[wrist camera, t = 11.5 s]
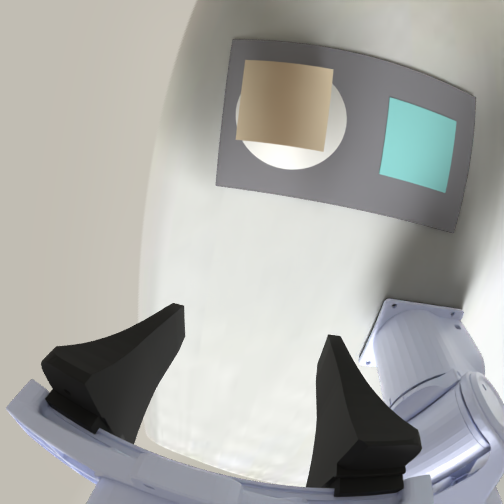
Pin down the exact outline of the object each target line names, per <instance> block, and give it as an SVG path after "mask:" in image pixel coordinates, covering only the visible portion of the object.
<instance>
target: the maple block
mask: <svg viewBox="0 0 504 504" xmlns="http://www.w3.org/2000/svg"><path fill="white" fill-rule="evenodd" d="M332 80H333V69H328V68H322V67H316V66H309V65H302V64H294V63H285V62H274V61H259V60H245V66H244V74H243V82H242V90H241V98H240V106H239V115H238V123H237V132H236V140H243V141H253V142H262V143H270V144H277V145H285V146H291V147H298V148H304V149H310V150H316V151H321V152H324V145H325V138H326V131H327V123H328V115H329V107H330V99H331V89H332Z"/></svg>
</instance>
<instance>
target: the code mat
mask: <svg viewBox="0 0 504 504" xmlns="http://www.w3.org/2000/svg"><path fill="white" fill-rule="evenodd" d="M245 60H259V61H274V62H285V63H294V64H302V65H309V66H316V67H322V68H328V69H333V80H332V89H331V99H330V107H329V115H328V123H327V131H326V138H325V145H324V152H321V151H316V150H310V149H304V148H298V147H291V146H285V145H277V144H270V143H262V142H253V141H243V140H236V132H237V123H238V115H239V106H240V98H241V90H242V82H243V74H244V66H245ZM475 110H476V97H474V96H472V95H471V94H469V93H467V92H465V91H463V90H461V89H458V88H456V87H454V86H452V85H450V84H448V83H445V82H443V81H441V80H438V79H436V78H434V77H431V76H429V75H426V74H424V73H421V72H418V71H416V70H413V69H410V68H407V67H404V66H401V65H398V64H395V63H392V62H388V61H385V60H382V59H378V58H374V57H371V56H367V55H363V54H359V53H354V52H350V51H345V50H340V49H335V48H329V47H324V46H317V45H311V44H303V43H294V42H284V41H272V40H249V39H233V40H232V47H231V54H230V61H229V68H228V75H227V83H226V91H225V99H224V107H223V116H222V125H221V134H220V144H219V154H218V164H217V175H216V186H221V187H228V188H236V189H243V190H250V191H257V192H263V193H270V194H276V195H282V196H288V197H294V198H300V199H306V200H311V201H317V202H322V203H327V204H332V205H338V206H343V207H347V208H352V209H357V210H362V211H366V212H371V213H375V214H380V215H384V216H389V217H393V218H397V219H401V220H405V221H409V222H413V223H417V224H421V225H425V226H429V227H433V228H436V229H440V230H444V231H447V232H451V233H454V231H455V227H456V224H457V220H458V216H459V213H460V209H461V204H462V200H463V196H464V191H465V187H466V182H467V176H468V171H469V165H470V159H471V152H472V144H473V135H474V125H475Z"/></svg>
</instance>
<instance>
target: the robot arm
mask: <svg viewBox="0 0 504 504" xmlns="http://www.w3.org/2000/svg"><path fill="white" fill-rule="evenodd" d="M393 304H396V305H395V306H392V305H393ZM451 313H453V314H451ZM463 314H464V312H463V310H462V309H457V308H450V307H443V306H436V305H429V304H422V303H415V302H409V301H402V300H396V299H387V300H385V301H384V303H383V306H382V308H381V311H380V313H379V316H378V318H377V321H376V323H375V325H374V328H373V330H372V332H371V335H370V337H369V339H368V341H367V344H366V346H365V348H364V350H363V352H362V354H361V356H360V359H359V364H360V365H362V366H373V367H377V370H378V375H379V380H380V386H381V391H382V397H383V401H382V400H381V399H380V397H379V396H378V395H377V394H376V393H375V392H374V390H373V389H372V388H371V387H370V385H369V384H368V383H367V381H366V380H365V378H364V377H363V375H362V374H361V372H360V371H359V369H358V368H357V366H356V364H355V362H354V361H353V359H352V357H351V355H350V353H349V352H348V350H347V348H346V346H345V344H344V342H343V340H342V338H341V337H340V336H335V335H328V337H327V340H326V342H325V345H324V348H323V351H322V353H321V356H320V359H319V361H318V364H317V375H316V404H317V424H316V434H315V442H314V448H313V455H312V461H311V466H310V471H309V476H308V480H307V484H306V487H296V486H286V485H277V484H269V483H263V482H256V481H251V480H246V479H241V478H236V477H231V476H226V475H222V474H218V473H214V472H210V471H207V470H203V469H200V468H196V467H193V466H190V465H186V464H183V463H180V462H177V461H174V460H171V459H168V458H166V457H163V456H160V455H158V454H155V453H153V452H150V451H148V450H145V449H143V448H140V447H138V446H136V445H134V442H135V439H136V436H137V433H138V430H139V428H140V425H141V422H142V420H143V417H144V414H145V412H146V410H147V407H148V405H149V403H150V400H151V398H152V396H153V394H154V392H155V389H156V388H157V386H158V384H159V382H160V381H161V379H162V377H163V376H164V374H165V372H166V371H167V369H168V368H169V366H170V365H171V363H172V361H173V360H174V358H175V356H176V355H177V353H178V351H179V349H180V347H181V345H182V342H183V340H184V338H185V322H184V306H183V305H179V304H175V303H172V304H171V305H169V306H167V307H165V308H164V309H162V310H161V311H159V312H157V313H156V314H154V315H152V316H150V317H149V318H147V319H145V320H144V321H142V322H140V323H138V324H136V325H134V326H132V327H130V328H128V329H126V330H124V331H121V332H119V333H116V334H114V335H111V336H108V337H105V338H102V339H99V340H95V341H91V342H87V343H82V344H76V345H67V346H57V347H55V348H54V349H53V350H52V351H51V352H50V353H49V354H48V355H47V356H46V357H45V358H44V359H43V360H42V362H41V366H42V369H43V372H44V374H45V376H46V378H47V380H48V381H49V383H50V385H51V386H52V388H53V390H52V391H51V392H50V393H49V391H48V390H47V389H45V388H44V387H43V386H41V385H40V384H39V383H37V382H36V381H35V380H33V379H31V380H30V381H29V382H28V383H27V384H26V385H25V386H24V387H23V389H22V390H21V391H20V392H19V393H18V394H17V395H16V397H15V398H14V399H13V400H12V401H11V402H10V404H9V405H8V406H7V407H6V409H7V411H8V412H9V413H10V414H11V416H12V417H13V418H14V419H15V420H16V422H17V423H18V424H19V425H20V426H21V427H22V429H23V430H24V431H25V432H26V433H27V434H28V435H29V436H30V437H31V438H33V439H34V440H35V441H36V442H37V443H38V444H40V445H41V446H42V447H44V448H45V449H46V450H47V451H49V452H50V453H51V454H52V455H54V456H55V457H56V458H58V459H59V460H60V461H62V462H63V463H64V464H66V465H67V466H69V467H70V468H71V469H73V470H75V471H76V472H77V473H79V474H80V475H82V476H83V477H85V478H86V479H88V480H90V481H92V482H93V483H95V484H96V487H95V489H94V490H93V492H92V494H91V496H90V497H89V499H88V501H87V503H86V504H503V503H502V500H501V498H500V495H499V493H498V490H497V488H496V485H497V484H498V482H499V481H500V479H501V477H502V476H503V474H504V404H503V402H502V400H501V398H500V396H499V394H498V393H497V391H496V389H495V388H494V387H493V385H492V384H491V383H490V381H489V380H488V379H487V378H486V377H485V365H484V360H483V357H482V355H481V353H480V351H479V349H478V348H477V346H476V344H475V343H474V341H473V339H472V338H471V336H470V334H469V333H468V331H467V330H466V328H465V326H464V325H463V323H462V322H461V319H462V317H463ZM367 361H369V362H367Z"/></svg>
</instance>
